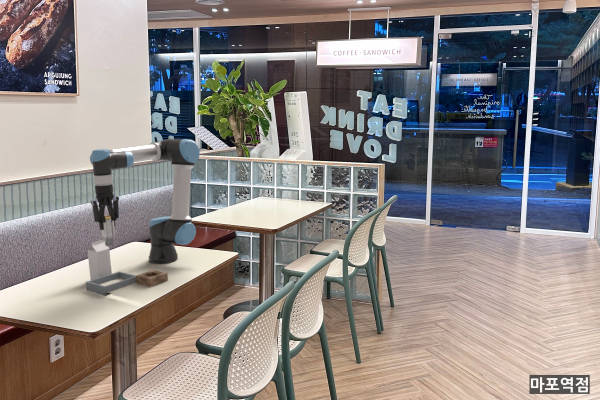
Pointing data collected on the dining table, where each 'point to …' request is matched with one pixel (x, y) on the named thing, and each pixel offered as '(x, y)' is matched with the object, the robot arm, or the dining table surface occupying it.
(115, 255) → the dining table surface
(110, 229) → the small bottle
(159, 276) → the block
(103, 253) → the milk carton
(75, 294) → the dining table surface
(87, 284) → the tray
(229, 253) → the dining table surface
